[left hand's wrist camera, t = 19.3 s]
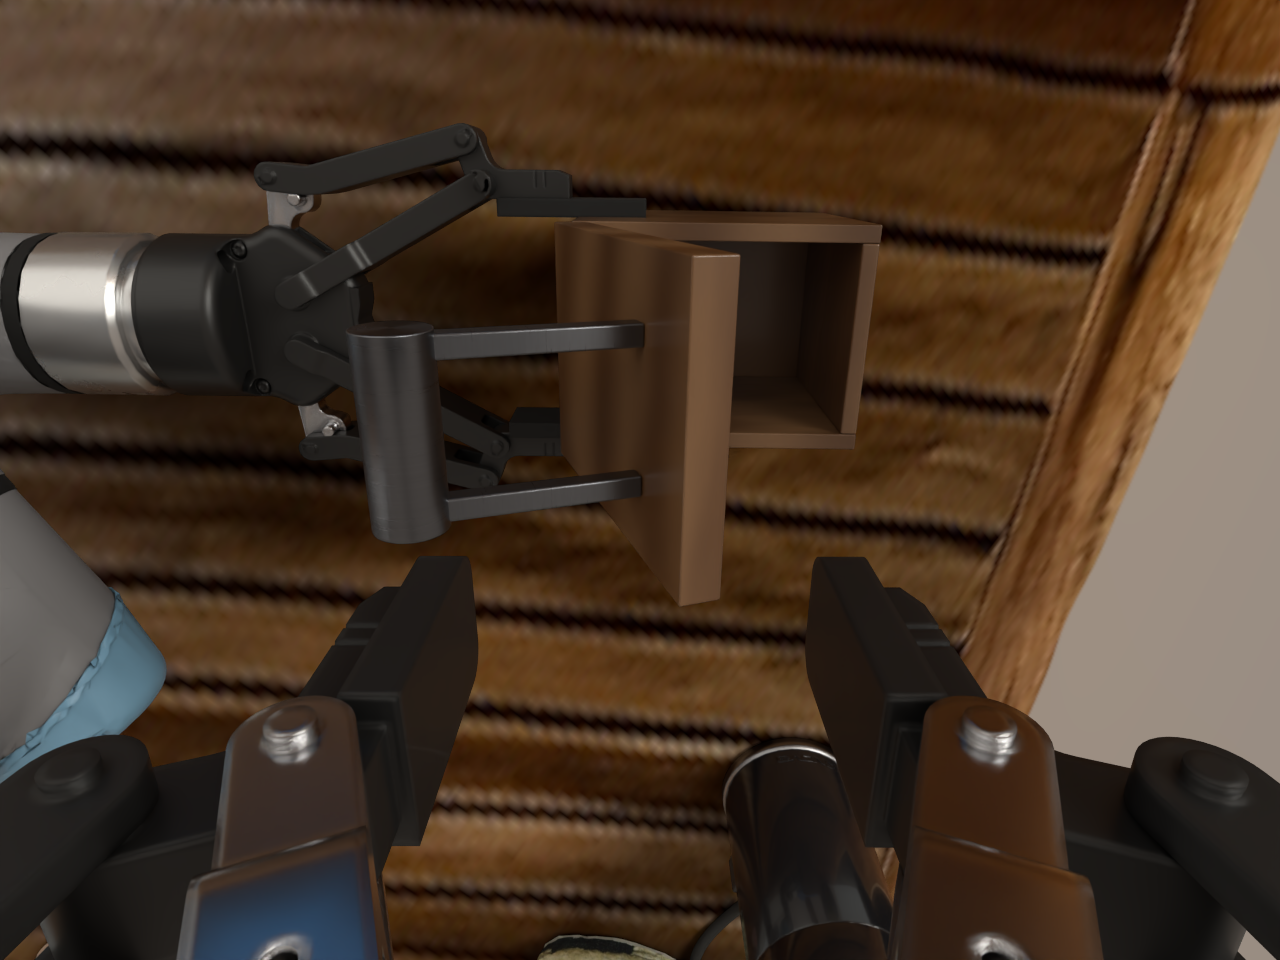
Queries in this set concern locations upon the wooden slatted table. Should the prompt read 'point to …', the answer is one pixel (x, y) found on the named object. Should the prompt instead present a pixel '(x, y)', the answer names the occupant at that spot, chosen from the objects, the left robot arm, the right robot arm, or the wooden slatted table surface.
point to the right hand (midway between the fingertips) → (644, 321)
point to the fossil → (597, 949)
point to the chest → (788, 317)
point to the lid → (579, 403)
